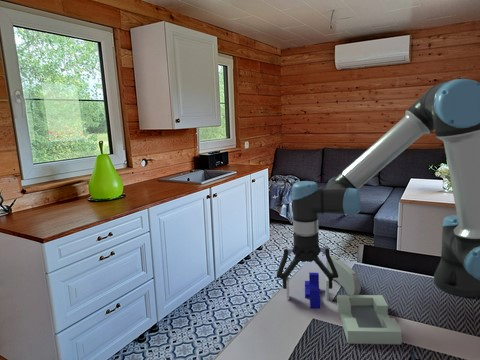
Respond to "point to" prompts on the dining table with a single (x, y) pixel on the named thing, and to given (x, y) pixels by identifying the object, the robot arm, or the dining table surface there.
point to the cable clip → (313, 290)
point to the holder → (367, 320)
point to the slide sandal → (345, 276)
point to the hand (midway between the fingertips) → (307, 297)
